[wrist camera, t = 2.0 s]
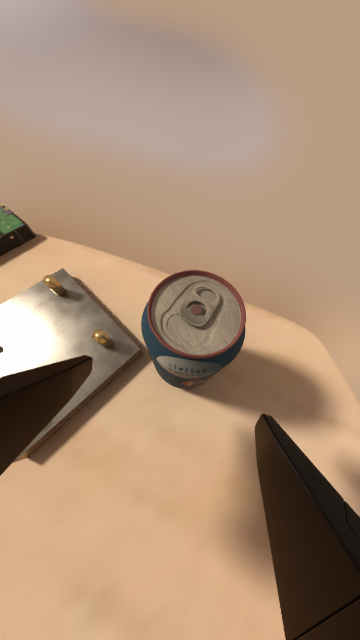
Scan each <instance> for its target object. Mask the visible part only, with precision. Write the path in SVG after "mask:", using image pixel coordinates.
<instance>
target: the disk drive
mask: <svg viewBox="0 0 360 640" xmlns="http://www.w3.org/2000/svg"><path fill="white" fill-rule="evenodd" d="M35 236H36V235H35V234H34V232H33V231H32V230H31V229H30V228H29V226H28V225H27V224H26V223H25V222H24V221H23V220H21V219H20V218H19V217H18V216H17V215H15V214H14V213H13V212H12V211H11V210H9V209H7V208H6V207H5V206H4V205H2V204H1V203H0V256H2V255H3V254H5V253H7V252H9V251H10V250H12V249H14V248H16V247H18V246H20V245H22V244H24V243H25V242H27V241H28V240H30V239H32V238H34V237H35Z"/></svg>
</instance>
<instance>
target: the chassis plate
mask: <svg viewBox="0 0 360 640" xmlns="http://www.w3.org/2000/svg"><path fill="white" fill-rule="evenodd" d="M141 353H142V351H141V349H140V348H139V347H138V346H137V345H136V344H135V343H134V342H133V341H132V339H131V338H130V337H129V336H128V335H127V334H126V333H125V332H124V331H123V330H122V329H121V328H120V327H119V326H118V325H117V324H116V323H115V322H114V321H113V320H112V319H111V318H110V317H109V316H108V314H107V313H106V312H105V311H104V310H103V309H102V308H101V307H100V306H99V305H98V304H97V303H96V302H95V301H94V300H93V299H92V298H91V297H90V296H89V295H88V294H87V293H86V292H85V291H84V290H83V288H82V287H81V286H80V285H79V284H78V283H77V282H76V281H75V280H74V279H73V278H72V277H71V276H70V275H69V274H68V273H67V272H66V271H65V270H64V269H63V268H62V269H61V270H59V271H57V272H56V273H54V274H52V275H47V276H45V277H44V278H43V280H42V281H40V282H39V283H37V284H35V285H34V286H32V287H30V288H28V289H27V290H25V291H23V292H22V293H20V294H18V295H17V296H15V297H13V298H11V299H10V300H8V301H6V302H5V303H3V304H1V305H0V378H1V377H2V376H6V375H10V374H14V373H17V372H21V371H25V370H29V369H33V368H37V367H40V366H44V365H48V364H52V363H56V362H60V361H63V360H67V359H71V358H75V357H79V356H83V355H87V356H90V357H92V358H93V364H92V372H91V374H90V375H89V377H88V378H87V379H86V380H85V382H84V383H83V384H82V386H81V387H80V388H79V390H78V391H77V392H76V394H75V395H74V396H73V397H72V399H71V400H70V401H69V402H68V403H67V404H66V405H65V406H64V407H63V409H62V410H61V411H60V412H59V413H58V414H57V415H56V416H55V417H54V418H53V419H52V420H51V421H50V423H49V424H48V425H47V426H46V427H45V428H44V429H43V430H42V431H41V432H40V433H39V434H38V436H37V437H36V438H35V439H34V440H33V441H32V442H31V443H30V444H29V445H28V446H27V447H26V448H25V450H24V451H23V452H22V453H21V454H20V455H19V456H18V457H17V458H16V459H15V460H14V461H13V463H14V462H17V461H20V460H23V459H25V458H27V457H28V456H29V455H30V454H31V453H33V452H34V451H35V450H36V449H37V448H38V447H39V446H40V445H41V444H42V443H44V442H45V441H46V440H47V439H48V438H49V437H50V436H51V435H52V434H53V433H55V432H56V431H57V430H58V429H59V428H60V427H61V426H62V425H63V424H64V423H65V422H67V421H68V420H69V419H70V418H71V417H72V416H73V415H74V414H75V413H76V412H78V411H79V410H80V409H81V408H82V407H83V406H84V405H85V404H86V403H87V402H89V401H90V400H91V399H92V398H93V397H94V396H95V395H96V394H97V393H98V392H100V391H101V390H102V389H103V388H104V387H105V386H106V385H107V384H108V383H109V382H111V381H112V380H113V379H114V378H115V377H116V376H117V375H118V374H119V373H120V372H122V371H123V370H124V369H125V368H126V367H127V366H128V365H129V364H130V363H131V362H133V361H134V360H135V359H136V358H137V357H138V356H139V355H140V354H141Z"/></svg>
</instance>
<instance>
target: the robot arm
mask: <svg viewBox="0 0 360 640" xmlns="http://www.w3.org/2000/svg"><path fill="white" fill-rule="evenodd" d="M92 364H93V358H92V357H90V356H87V355H83V356H79V357H75V358H71V359H67V360H63V361H60V362H56V363H52V364H48V365H44V366H40V367H37V368H33V369H29V370H25V371H21V372H17V373H14V374H10V375H6V376H2V377H1V378H0V475H1V474H2V473H3V472H4V471H5V470H6V469H7V468H8V467H9V466H10V465H11V464H12V463H13V461H14V460H15V459H16V458H17V457H18V456H19V455H20V454H21V453H22V452H23V451H24V450H25V448H26V447H27V446H28V445H29V444H30V443H31V442H32V441H33V440H34V439H35V438H36V437H37V436H38V434H39V433H40V432H41V431H42V430H43V429H44V428H45V427H46V426H47V425H48V424H49V423H50V421H51V420H52V419H53V418H54V417H55V416H56V415H57V414H58V413H59V412H60V411H61V410H62V409H63V407H64V406H65V405H66V404H67V403H68V402H69V401H70V400H71V399H72V397H73V396H74V395H75V394H76V392H77V391H78V390H79V388H80V387H81V386H82V384H83V383H84V382H85V380H86V379H87V378H88V377H89V375H90V374H91V372H92ZM255 442H256V457H257V467H258V474H259V480H260V486H261V492H262V498H263V504H264V510H265V517H266V523H267V529H268V535H269V541H270V547H271V553H272V559H273V565H274V571H275V577H276V583H277V590H278V596H279V602H280V608H281V614H282V620H283V626H284V632H285V638H286V640H360V517H359V516H358V515H357V514H356V513H355V512H354V510H353V509H352V508H351V507H350V506H349V505H348V503H347V502H345V501H344V499H343V498H342V497H341V496H340V494H339V493H338V492H337V491H336V490H335V489H334V487H333V486H332V485H331V484H330V483H329V482H328V481H327V479H326V478H325V477H324V476H323V475H322V474H321V473H320V471H319V470H318V469H317V468H316V467H315V466H314V464H313V463H312V462H311V461H310V460H309V459H308V458H307V456H306V455H305V454H304V453H303V452H302V451H301V450H300V448H299V447H298V446H297V445H296V444H295V443H294V441H293V440H292V439H291V438H290V437H289V436H288V435H287V433H286V432H285V431H284V430H283V429H282V428H281V427H280V425H279V424H278V423H277V422H276V421H275V420H274V418H273V417H272V416H270V415H267V414H261V416H260V418H259V420H258V421H257V423H256V425H255Z"/></svg>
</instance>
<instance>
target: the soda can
mask: <svg viewBox="0 0 360 640" xmlns="http://www.w3.org/2000/svg"><path fill="white" fill-rule="evenodd" d="M245 322H246V311H245V306H244V303H243V301H242V298H241V296H240V295H239V293H238V292H237V291H236V289H235V288H234V287H233V286H232V285H231V284H230V283H228V282H227V281H226V280H224V279H223V278H221V277H219V276H217V275H215V274H212V273H209V272H205V271H199V270H190V271H189V270H188V271H183V272H179V273H175V274H173V275H171V276H169V277H167V278H165V279H164V280H163V281H162V282H160V283H159V284H158V285H157V287H156V288H155V289H154V291H153V292H152V294H151V296H150V299H149V301H148V303H147V305H146V307H145V309H144V312H143V316H142V323H141V326H142V334H143V338H144V341H145V343H146V346H147V348H148V351H149V353H150V355H151V358H152V360H153V363H154V365H155V367H156V370H157V372H158V373H159V375H160V376H161V377H162V379H163V380H165V381H166V382H167V383H169V384H170V385H172V386H175V387H178V388H193V387H196V386H199V385H201V384H202V383H204V382H205V381H206V380H208V379H209V378H210V377H212V376H213V375H214V374H216V373H217V372H218V371H220V370H221V369H222V368H224V367H225V366H226V365H228V364H229V363H230V362H231V361H232V360H233V359H234V358H235V357H236V356H237V354H238V353H239V351H240V349H241V347H242V345H243V342H244V338H245Z"/></svg>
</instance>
